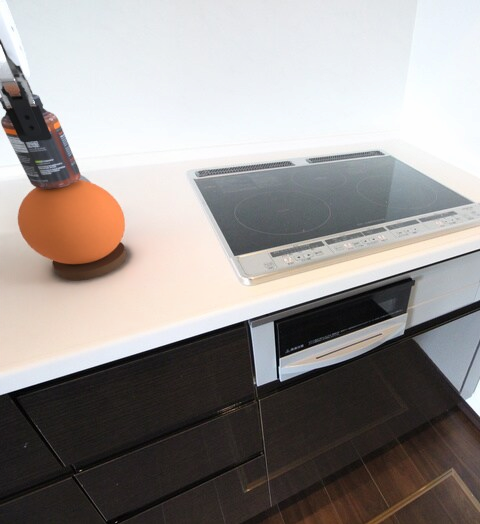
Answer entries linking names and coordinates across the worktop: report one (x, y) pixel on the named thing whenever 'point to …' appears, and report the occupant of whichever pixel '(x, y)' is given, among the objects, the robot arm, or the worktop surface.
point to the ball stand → (74, 229)
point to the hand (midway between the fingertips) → (35, 132)
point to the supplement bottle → (44, 153)
